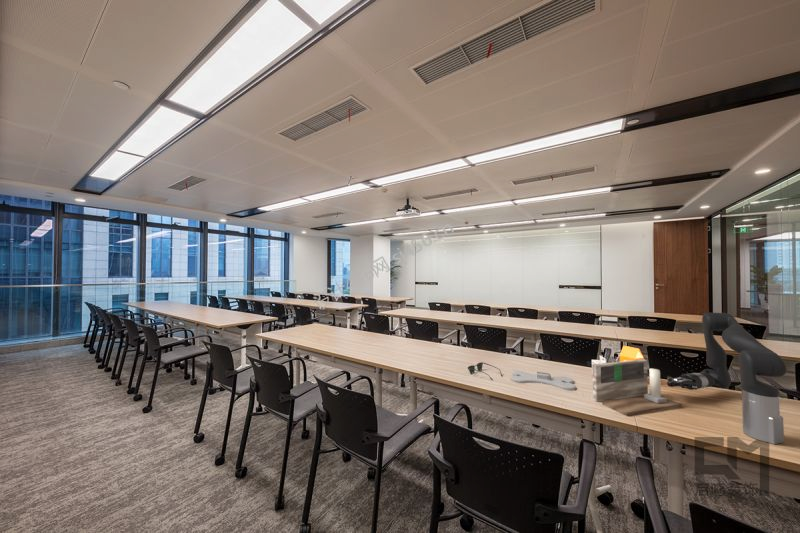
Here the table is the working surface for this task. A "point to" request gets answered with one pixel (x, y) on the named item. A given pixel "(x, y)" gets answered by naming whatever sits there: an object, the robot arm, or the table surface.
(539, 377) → the holder
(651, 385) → the white cylinder on base
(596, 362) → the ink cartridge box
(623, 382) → the base
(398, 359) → the table surface
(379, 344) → the table surface
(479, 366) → the sunglasses
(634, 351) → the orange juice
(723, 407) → the table surface
